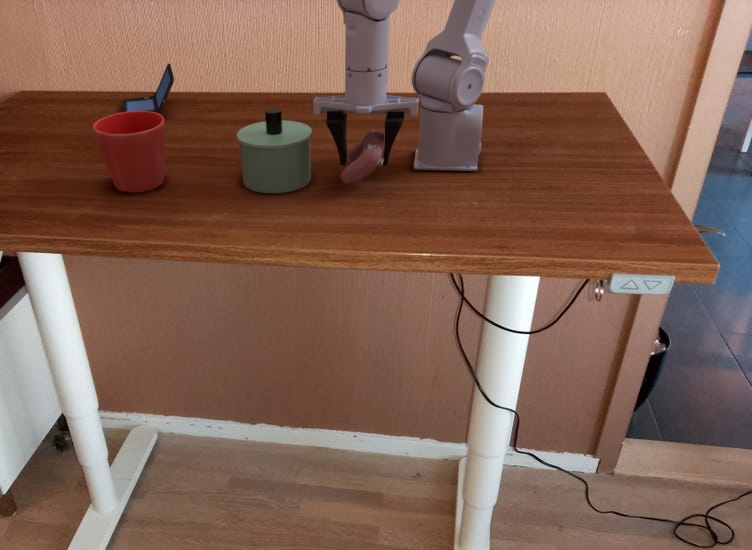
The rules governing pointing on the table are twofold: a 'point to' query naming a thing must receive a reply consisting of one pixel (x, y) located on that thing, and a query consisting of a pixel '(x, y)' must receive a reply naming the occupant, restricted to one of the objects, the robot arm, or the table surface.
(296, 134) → the pot lid
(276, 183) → the pot
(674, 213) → the table surface
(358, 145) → the video game controller
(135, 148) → the flower pot
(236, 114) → the table surface
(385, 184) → the table surface
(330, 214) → the table surface
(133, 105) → the handheld console
